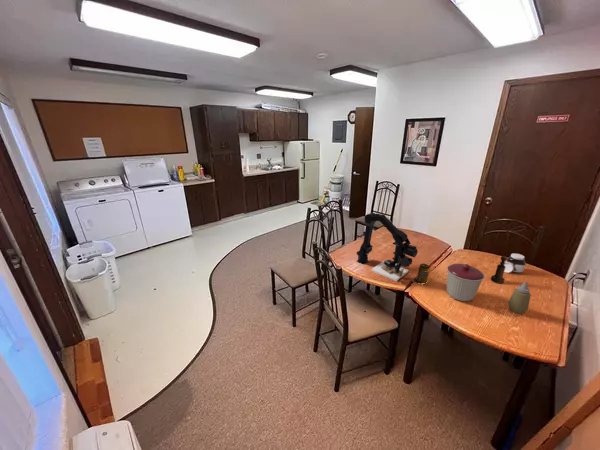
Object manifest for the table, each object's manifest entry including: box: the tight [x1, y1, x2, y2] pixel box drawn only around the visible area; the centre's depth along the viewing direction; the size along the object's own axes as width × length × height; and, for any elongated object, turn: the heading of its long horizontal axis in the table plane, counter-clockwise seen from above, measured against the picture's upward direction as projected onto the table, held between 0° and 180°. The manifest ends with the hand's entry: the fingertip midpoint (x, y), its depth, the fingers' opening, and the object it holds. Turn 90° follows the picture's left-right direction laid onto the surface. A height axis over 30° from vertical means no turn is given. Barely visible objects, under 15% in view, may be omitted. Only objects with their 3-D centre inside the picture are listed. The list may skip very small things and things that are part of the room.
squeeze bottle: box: [507, 281, 532, 315], centre depth 127 cm, size 8×8×18 cm
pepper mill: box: [490, 255, 508, 284], centre depth 153 cm, size 7×6×18 cm
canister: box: [446, 263, 486, 302], centre depth 139 cm, size 18×18×21 cm
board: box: [371, 260, 409, 282], centre depth 170 cm, size 19×17×5 cm
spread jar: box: [504, 253, 527, 274], centre depth 164 cm, size 12×11×12 cm
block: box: [382, 266, 403, 278], centre depth 167 cm, size 14×8×3 cm, turn 24°
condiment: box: [411, 263, 430, 285], centre depth 156 cm, size 7×8×12 cm
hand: (396, 272), depth 162 cm, fingers closed
